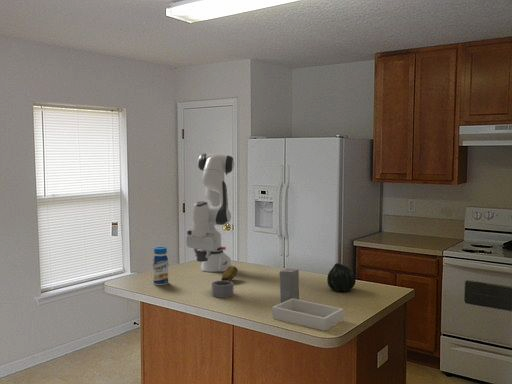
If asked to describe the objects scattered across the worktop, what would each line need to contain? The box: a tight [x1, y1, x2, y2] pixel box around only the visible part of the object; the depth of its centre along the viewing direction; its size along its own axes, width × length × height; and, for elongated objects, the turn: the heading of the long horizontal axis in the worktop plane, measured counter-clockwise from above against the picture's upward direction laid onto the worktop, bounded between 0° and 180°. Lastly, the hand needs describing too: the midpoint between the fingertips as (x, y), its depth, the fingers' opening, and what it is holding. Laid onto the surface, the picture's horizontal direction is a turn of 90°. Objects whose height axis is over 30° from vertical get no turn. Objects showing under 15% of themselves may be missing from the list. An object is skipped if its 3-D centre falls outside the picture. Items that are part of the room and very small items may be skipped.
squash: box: [326, 263, 356, 293], centre depth 258 cm, size 14×15×15 cm
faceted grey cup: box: [211, 280, 235, 299], centre depth 250 cm, size 11×11×6 cm
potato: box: [220, 266, 238, 281], centre depth 276 cm, size 8×13×8 cm, turn 139°
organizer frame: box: [271, 298, 344, 331], centre depth 212 cm, size 16×26×5 cm, turn 52°
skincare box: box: [279, 268, 300, 303], centre depth 237 cm, size 8×7×16 cm
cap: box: [196, 249, 208, 263], centre depth 266 cm, size 6×6×5 cm
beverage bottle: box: [152, 246, 169, 286], centre depth 271 cm, size 8×8×20 cm
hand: (202, 257), depth 266 cm, fingers closed on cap, 6 cm apart
